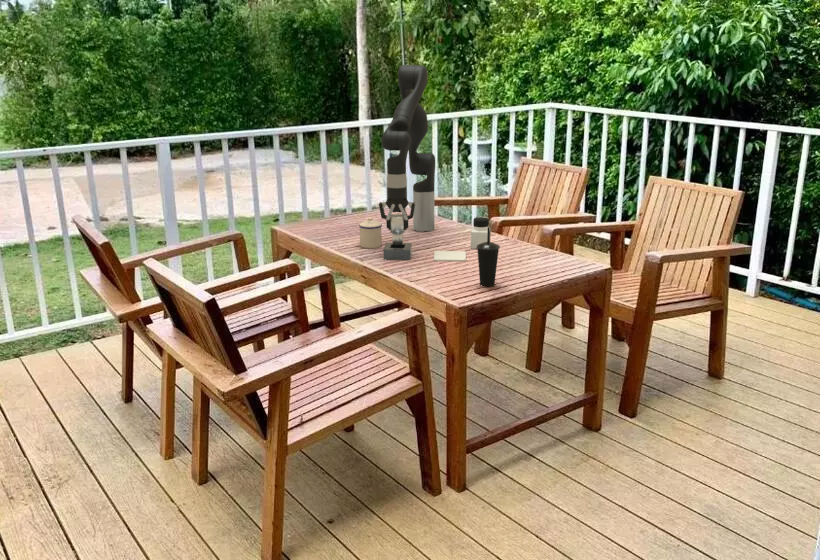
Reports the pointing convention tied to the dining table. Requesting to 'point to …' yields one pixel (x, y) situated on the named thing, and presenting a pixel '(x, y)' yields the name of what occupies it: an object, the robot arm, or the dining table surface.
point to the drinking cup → (487, 261)
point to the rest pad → (450, 256)
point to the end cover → (397, 228)
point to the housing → (397, 251)
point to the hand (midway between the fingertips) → (397, 229)
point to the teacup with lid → (370, 234)
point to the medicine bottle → (479, 231)
